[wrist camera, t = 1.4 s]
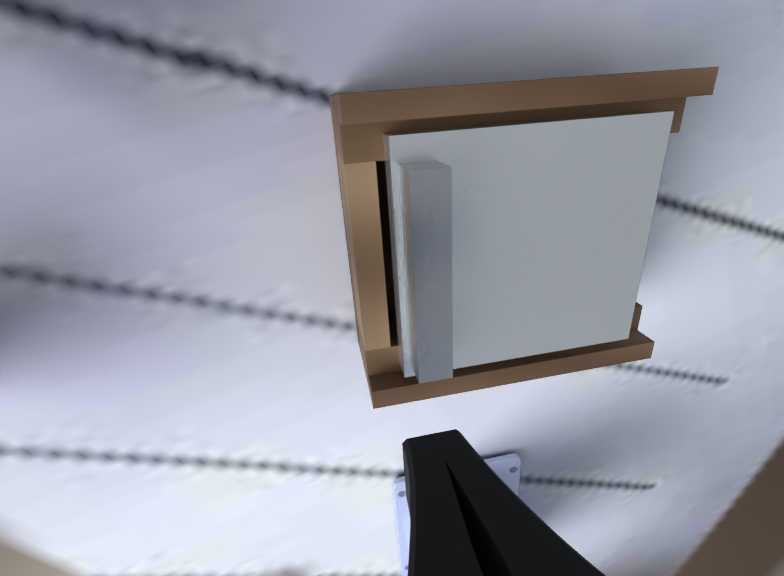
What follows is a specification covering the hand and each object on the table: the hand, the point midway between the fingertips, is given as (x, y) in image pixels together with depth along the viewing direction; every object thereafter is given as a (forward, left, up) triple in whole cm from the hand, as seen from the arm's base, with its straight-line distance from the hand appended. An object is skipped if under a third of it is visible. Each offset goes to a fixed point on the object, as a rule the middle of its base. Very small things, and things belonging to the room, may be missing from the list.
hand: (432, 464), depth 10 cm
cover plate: (+3, -5, -6) cm, 9 cm away
